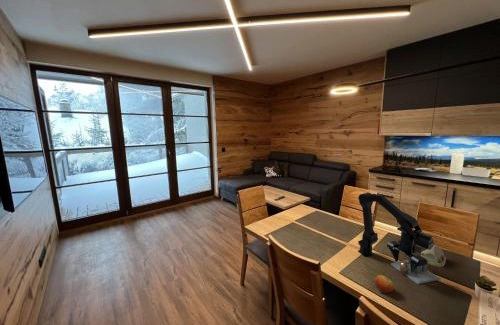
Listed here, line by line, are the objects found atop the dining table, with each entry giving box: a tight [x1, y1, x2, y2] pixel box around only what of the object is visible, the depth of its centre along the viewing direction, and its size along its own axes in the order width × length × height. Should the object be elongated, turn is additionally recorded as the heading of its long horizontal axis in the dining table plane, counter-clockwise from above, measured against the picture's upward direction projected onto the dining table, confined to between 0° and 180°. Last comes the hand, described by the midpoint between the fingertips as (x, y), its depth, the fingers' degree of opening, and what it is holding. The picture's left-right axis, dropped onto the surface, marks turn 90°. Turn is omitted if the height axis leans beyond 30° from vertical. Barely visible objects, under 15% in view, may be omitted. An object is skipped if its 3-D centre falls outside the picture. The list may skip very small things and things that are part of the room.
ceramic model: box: [420, 244, 447, 268], centre depth 125 cm, size 14×11×10 cm
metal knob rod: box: [399, 260, 430, 275], centre depth 115 cm, size 18×4×5 cm, turn 103°
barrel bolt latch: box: [390, 255, 441, 285], centre depth 115 cm, size 14×16×8 cm
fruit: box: [374, 274, 395, 294], centre depth 103 cm, size 8×8×8 cm
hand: (404, 266), depth 114 cm, fingers open, 9 cm apart
